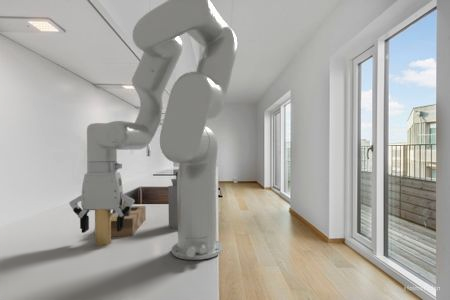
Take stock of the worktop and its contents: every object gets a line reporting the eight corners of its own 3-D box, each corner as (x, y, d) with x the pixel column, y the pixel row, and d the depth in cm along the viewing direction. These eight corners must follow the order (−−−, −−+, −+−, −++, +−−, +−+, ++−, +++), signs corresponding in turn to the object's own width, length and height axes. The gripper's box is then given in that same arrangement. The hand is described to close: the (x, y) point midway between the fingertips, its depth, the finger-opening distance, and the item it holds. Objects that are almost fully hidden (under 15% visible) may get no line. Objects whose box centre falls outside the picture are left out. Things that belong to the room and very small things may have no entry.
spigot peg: (108, 244, 75) (107, 207, 76) (92, 245, 75) (92, 208, 75) (112, 240, 79) (112, 205, 79) (98, 240, 79) (97, 205, 79)
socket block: (132, 235, 84) (132, 212, 84) (101, 236, 83) (101, 213, 83) (145, 219, 104) (145, 200, 104) (120, 220, 103) (120, 201, 103)
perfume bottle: (197, 224, 95) (196, 171, 95) (184, 229, 89) (183, 173, 89) (182, 222, 99) (181, 171, 99) (168, 226, 93) (168, 172, 93)
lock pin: (120, 220, 81) (120, 205, 81) (107, 221, 81) (107, 205, 81) (130, 211, 93) (130, 198, 93) (119, 212, 93) (119, 199, 93)
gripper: (137, 167, 82) (137, 226, 82) (75, 167, 80) (75, 228, 80) (131, 168, 74) (131, 233, 74) (62, 169, 73) (63, 236, 73)
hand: (102, 230), depth 77 cm, fingers open, 8 cm apart
